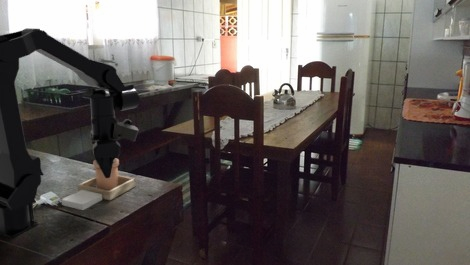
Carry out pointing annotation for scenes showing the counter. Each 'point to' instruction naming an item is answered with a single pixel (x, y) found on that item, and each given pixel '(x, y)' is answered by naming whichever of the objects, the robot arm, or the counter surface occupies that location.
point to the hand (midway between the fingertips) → (106, 171)
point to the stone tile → (82, 199)
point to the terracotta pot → (107, 182)
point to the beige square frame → (109, 195)
